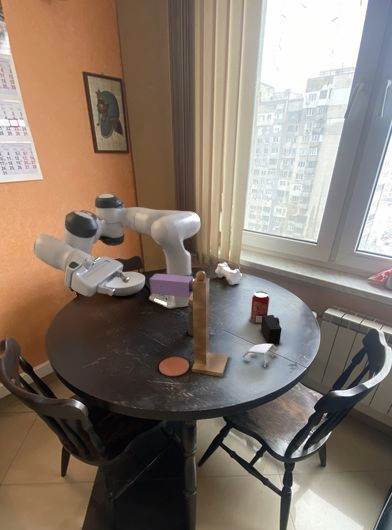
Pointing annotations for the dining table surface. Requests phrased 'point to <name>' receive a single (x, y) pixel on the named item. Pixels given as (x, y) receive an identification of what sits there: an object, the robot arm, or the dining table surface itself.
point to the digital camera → (271, 329)
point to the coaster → (174, 366)
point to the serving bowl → (127, 284)
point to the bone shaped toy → (228, 273)
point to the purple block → (170, 285)
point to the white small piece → (261, 350)
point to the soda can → (259, 306)
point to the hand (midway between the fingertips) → (121, 286)
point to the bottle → (190, 316)
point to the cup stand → (204, 330)
